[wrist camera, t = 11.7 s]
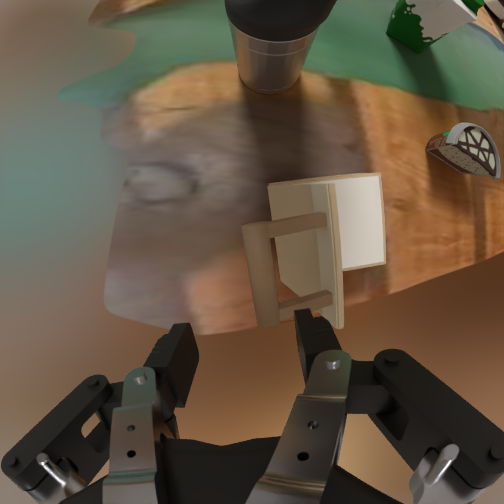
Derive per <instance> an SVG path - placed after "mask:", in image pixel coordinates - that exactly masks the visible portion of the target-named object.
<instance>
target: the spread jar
mask: <svg viewBox="0 0 504 504" xmlns="http://www.w3.org/2000/svg"><path fill="white" fill-rule="evenodd" d="M484 5H485V7H486V8H487V9H488V11H489V12H490V13H491V14H492V15H493V16H495V17H496V18H498V19H500V20H502V19H504V0H484ZM502 28H503V29H504V23H503V24H502Z"/></svg>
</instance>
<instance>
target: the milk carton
mask: <svg viewBox="0 0 504 504" xmlns="http://www.w3.org/2000/svg"><path fill="white" fill-rule="evenodd" d="M483 5H484V0H399V1H398V2H397V3H396V5H395V7H394V9H393V11H392V14H391V18H390V21H389V24H388V28H387V31H386V33H387V34H389V35H390V36H392V37H394V38H395V39H397V40H399V41H400V42H402V43H404V44H405V45H407V46H408V47H410V48H411V49H413V50H414V51H416V52H417V53H420V52H421V51H423V50H424V49H426V48H427V47H428V46H430V45H431V44H433V43H434V42H436V41H437V40H439V39H440V38H442V37H443V36H445V35H446V34H448V33H449V32H451V31H453V30H454V29H456V28H457V27H459V26H461V25H463V24H465V23H469V22H473V21H476V20H477V18H476V16H477V12H478V9H479V8H480V7H482V6H483Z"/></svg>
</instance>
